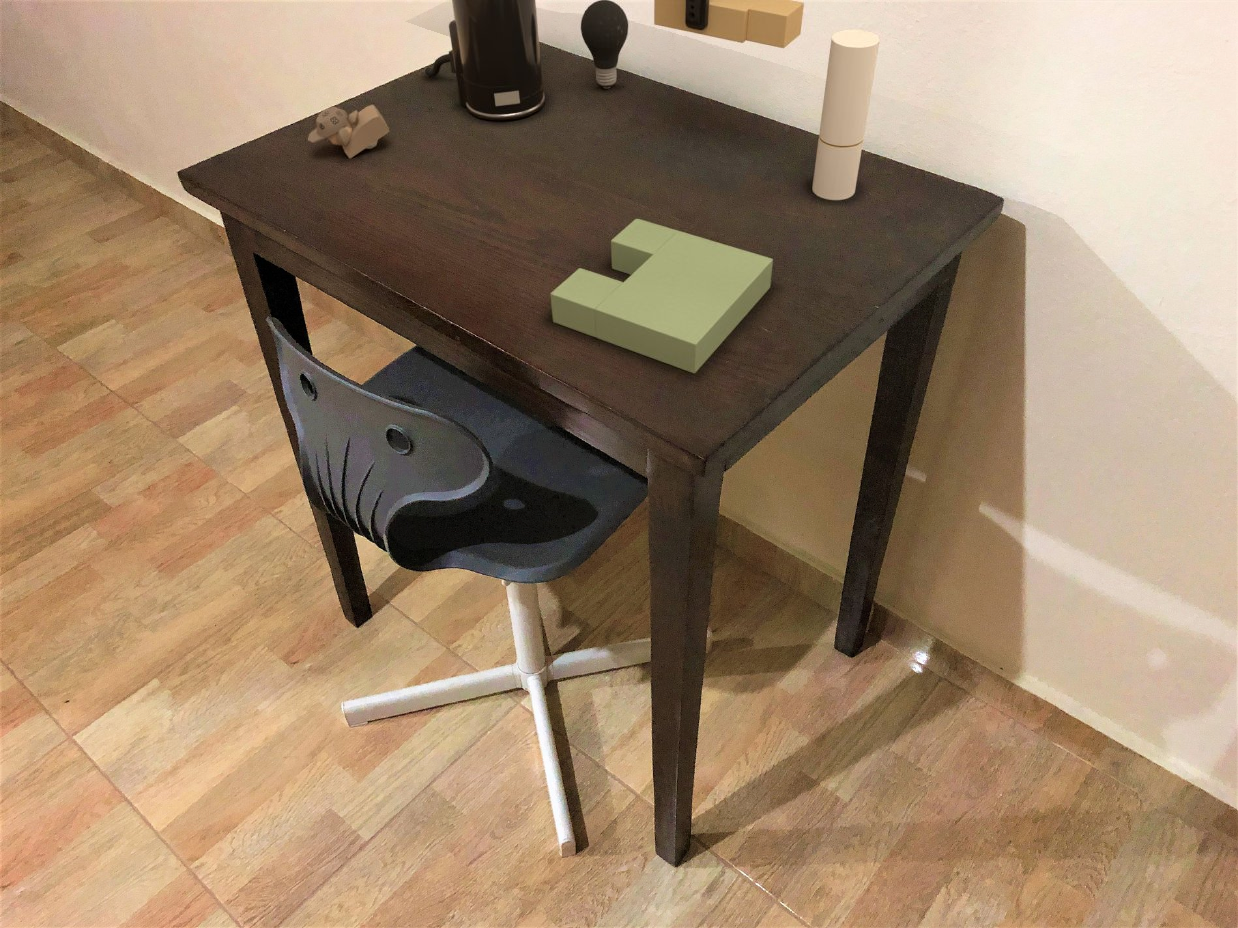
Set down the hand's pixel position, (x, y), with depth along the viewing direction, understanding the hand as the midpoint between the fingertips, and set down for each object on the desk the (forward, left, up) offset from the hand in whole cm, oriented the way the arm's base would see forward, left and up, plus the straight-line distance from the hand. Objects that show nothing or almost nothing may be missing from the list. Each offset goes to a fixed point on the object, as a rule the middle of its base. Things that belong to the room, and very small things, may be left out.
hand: (710, 17), depth 94 cm
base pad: (+11, -29, -13) cm, 34 cm away
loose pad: (+2, 0, -1) cm, 2 cm away
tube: (+16, -3, -14) cm, 21 cm away
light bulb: (-18, +7, -14) cm, 24 cm away
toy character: (-34, -21, -14) cm, 42 cm away
